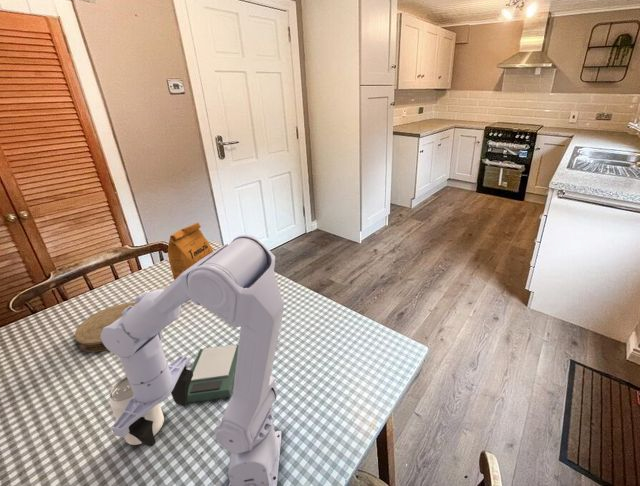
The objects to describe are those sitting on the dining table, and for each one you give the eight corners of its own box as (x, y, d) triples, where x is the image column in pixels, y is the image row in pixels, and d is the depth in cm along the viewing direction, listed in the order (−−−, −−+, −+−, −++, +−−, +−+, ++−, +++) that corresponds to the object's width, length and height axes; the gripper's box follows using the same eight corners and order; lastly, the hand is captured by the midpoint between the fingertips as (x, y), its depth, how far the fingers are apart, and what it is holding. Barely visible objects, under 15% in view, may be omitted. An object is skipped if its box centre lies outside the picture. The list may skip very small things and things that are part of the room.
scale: (230, 396, 67) (228, 388, 66) (181, 403, 65) (178, 395, 64) (242, 350, 79) (241, 342, 78) (201, 355, 77) (199, 347, 76)
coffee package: (224, 278, 109) (213, 222, 101) (194, 298, 98) (179, 238, 90) (203, 272, 113) (191, 218, 104) (172, 291, 102) (156, 233, 94)
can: (129, 420, 62) (112, 378, 58) (166, 408, 65) (152, 366, 60) (121, 452, 57) (101, 408, 52) (162, 437, 59) (146, 394, 55)
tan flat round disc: (133, 304, 96) (131, 296, 95) (160, 322, 88) (158, 314, 87) (68, 336, 83) (64, 328, 82) (93, 361, 75) (89, 352, 74)
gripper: (162, 336, 60) (177, 384, 65) (86, 404, 47) (112, 459, 52) (193, 341, 59) (206, 391, 64) (123, 414, 46) (146, 469, 51)
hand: (166, 422), depth 58 cm, fingers open, 7 cm apart
